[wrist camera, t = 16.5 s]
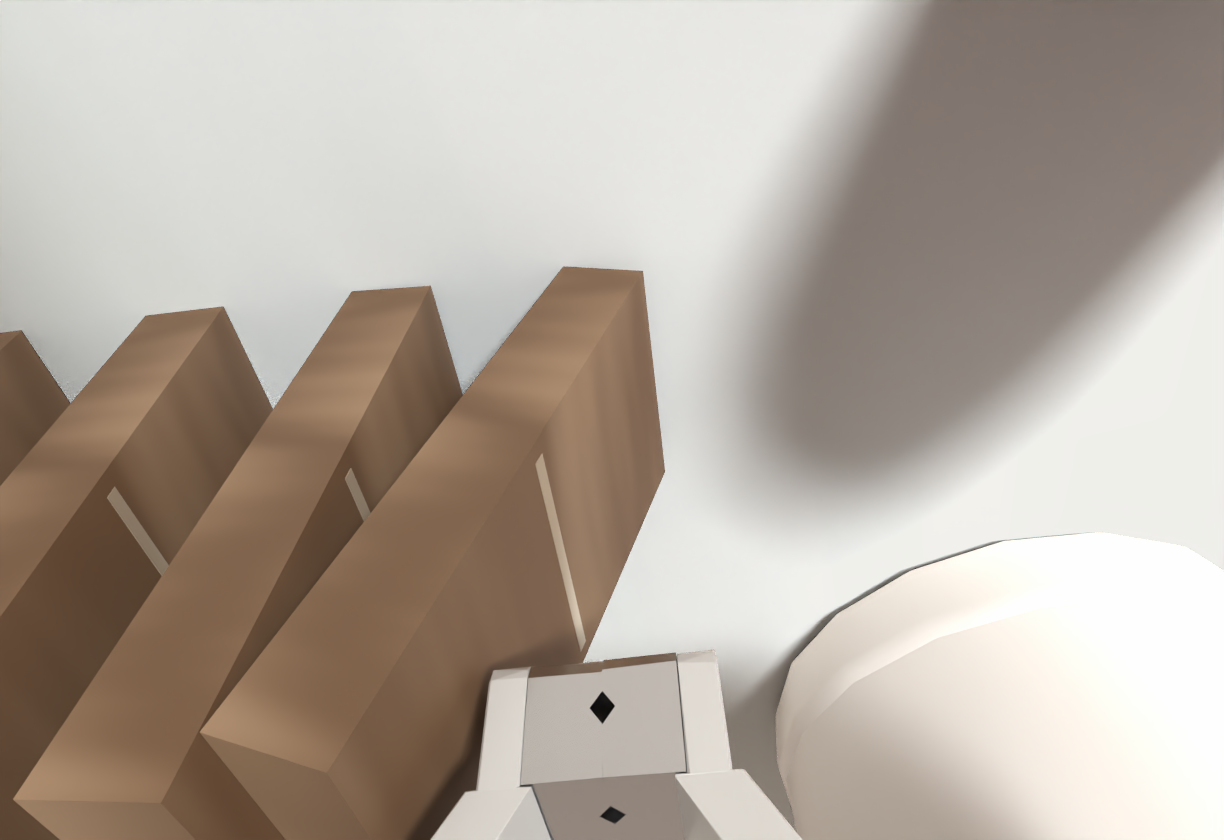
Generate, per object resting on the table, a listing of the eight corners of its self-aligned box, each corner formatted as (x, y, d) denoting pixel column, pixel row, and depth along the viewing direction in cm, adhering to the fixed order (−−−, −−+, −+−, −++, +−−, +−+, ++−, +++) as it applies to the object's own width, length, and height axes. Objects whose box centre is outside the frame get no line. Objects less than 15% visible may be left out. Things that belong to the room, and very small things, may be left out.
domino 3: (598, 461, 19) (353, 925, 11) (562, 267, 15) (198, 732, 8) (665, 471, 18) (453, 964, 11) (642, 271, 15) (327, 773, 8)
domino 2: (420, 480, 19) (224, 980, 11) (351, 291, 16) (12, 798, 8) (487, 477, 19) (335, 986, 11) (431, 286, 15) (162, 802, 8)
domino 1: (245, 497, 19) (-1, 998, 11) (144, 315, 16) (-295, 828, 8) (312, 491, 19) (110, 991, 11) (224, 306, 16) (-144, 817, 8)
